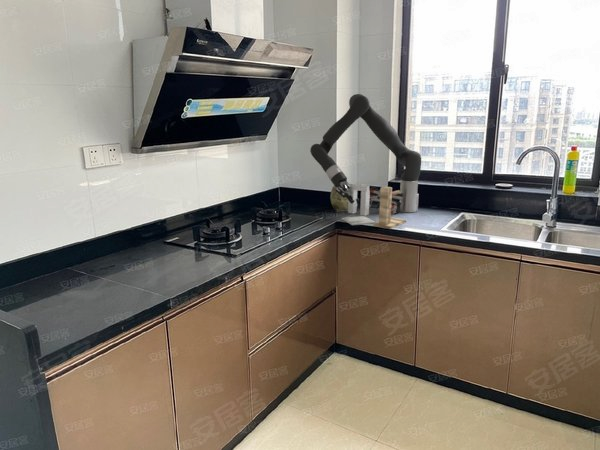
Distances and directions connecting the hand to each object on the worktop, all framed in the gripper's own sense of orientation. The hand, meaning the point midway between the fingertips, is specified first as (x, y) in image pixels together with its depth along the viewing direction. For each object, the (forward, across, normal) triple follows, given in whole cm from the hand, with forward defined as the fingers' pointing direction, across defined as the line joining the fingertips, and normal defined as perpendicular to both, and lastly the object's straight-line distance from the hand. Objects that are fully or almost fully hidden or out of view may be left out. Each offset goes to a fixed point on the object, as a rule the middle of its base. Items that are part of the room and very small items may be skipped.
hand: (355, 201), depth 224 cm
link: (+5, 0, +3) cm, 6 cm away
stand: (+19, +5, -6) cm, 20 cm away
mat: (+8, 0, +5) cm, 10 cm away
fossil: (-6, +18, +20) cm, 28 cm away
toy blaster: (+9, +22, +5) cm, 24 cm away
